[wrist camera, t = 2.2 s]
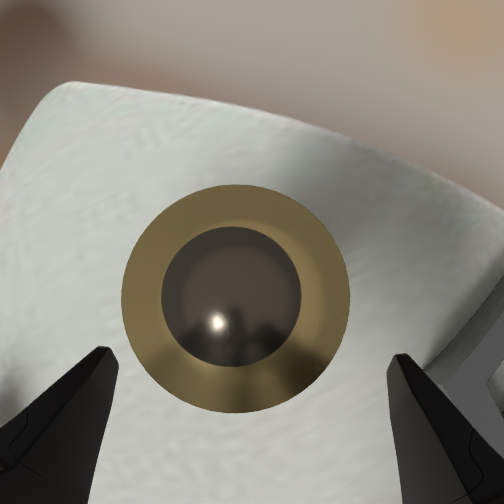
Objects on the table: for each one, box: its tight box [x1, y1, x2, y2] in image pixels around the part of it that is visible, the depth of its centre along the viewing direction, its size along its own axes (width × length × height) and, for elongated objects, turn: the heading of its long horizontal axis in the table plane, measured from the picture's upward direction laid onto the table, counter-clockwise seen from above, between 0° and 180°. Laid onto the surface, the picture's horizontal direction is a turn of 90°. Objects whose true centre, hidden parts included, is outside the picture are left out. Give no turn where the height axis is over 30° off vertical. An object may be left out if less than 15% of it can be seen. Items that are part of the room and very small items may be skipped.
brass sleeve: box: [121, 185, 350, 413], centre depth 12 cm, size 4×4×13 cm
